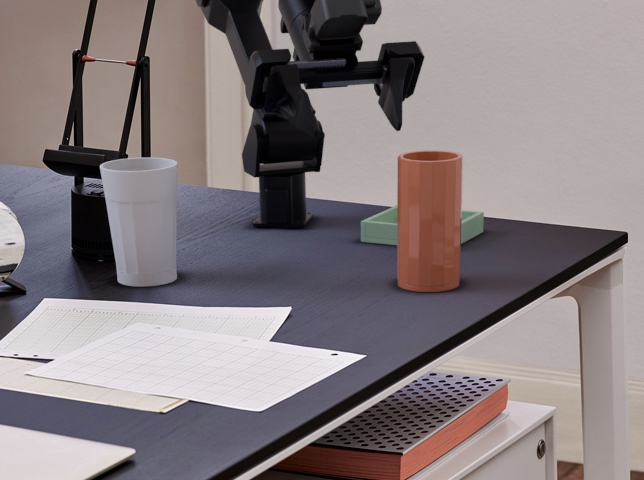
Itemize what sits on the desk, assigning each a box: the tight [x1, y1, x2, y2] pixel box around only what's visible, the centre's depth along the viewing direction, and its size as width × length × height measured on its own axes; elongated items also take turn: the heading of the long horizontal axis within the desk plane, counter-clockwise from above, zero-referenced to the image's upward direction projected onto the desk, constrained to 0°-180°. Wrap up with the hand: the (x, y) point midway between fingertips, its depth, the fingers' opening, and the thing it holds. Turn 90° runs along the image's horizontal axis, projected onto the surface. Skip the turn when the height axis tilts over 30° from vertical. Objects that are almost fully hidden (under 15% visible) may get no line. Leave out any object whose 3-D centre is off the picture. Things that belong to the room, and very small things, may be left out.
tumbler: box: [396, 149, 464, 293], centre depth 137 cm, size 6×6×13 cm
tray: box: [360, 204, 485, 246], centre depth 159 cm, size 11×10×2 cm
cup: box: [99, 157, 178, 288], centre depth 142 cm, size 8×8×12 cm
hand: (358, 131), depth 139 cm, fingers open, 9 cm apart
